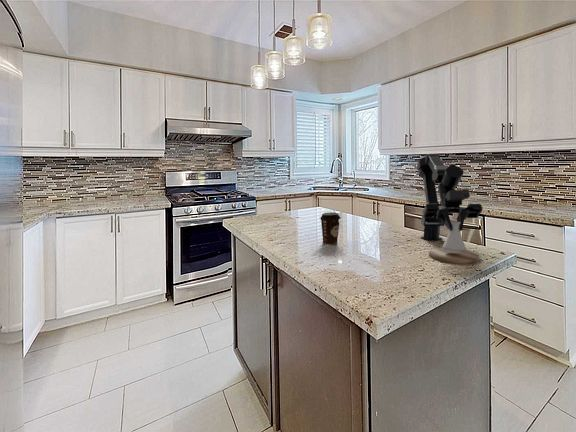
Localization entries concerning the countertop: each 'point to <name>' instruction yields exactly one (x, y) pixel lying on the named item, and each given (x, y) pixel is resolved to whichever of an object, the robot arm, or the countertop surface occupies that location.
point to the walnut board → (454, 256)
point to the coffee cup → (330, 227)
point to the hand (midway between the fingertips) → (456, 230)
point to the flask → (454, 238)
